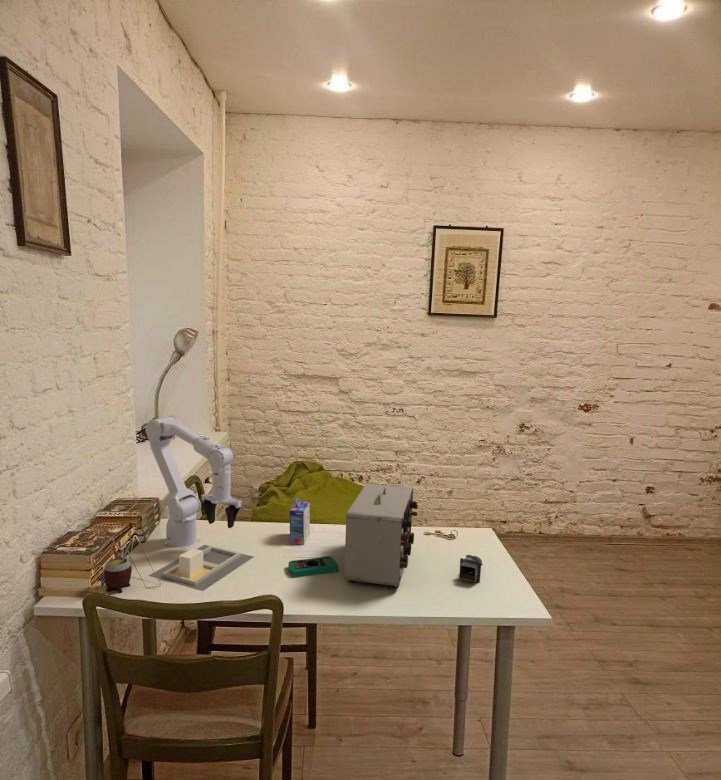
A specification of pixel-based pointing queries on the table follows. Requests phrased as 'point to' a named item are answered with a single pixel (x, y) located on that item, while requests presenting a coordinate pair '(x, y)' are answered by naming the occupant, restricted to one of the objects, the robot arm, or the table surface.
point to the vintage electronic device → (379, 534)
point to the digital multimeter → (312, 566)
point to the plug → (191, 563)
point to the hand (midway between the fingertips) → (221, 525)
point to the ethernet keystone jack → (470, 568)
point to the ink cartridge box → (299, 522)
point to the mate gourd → (118, 572)
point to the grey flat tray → (205, 568)
